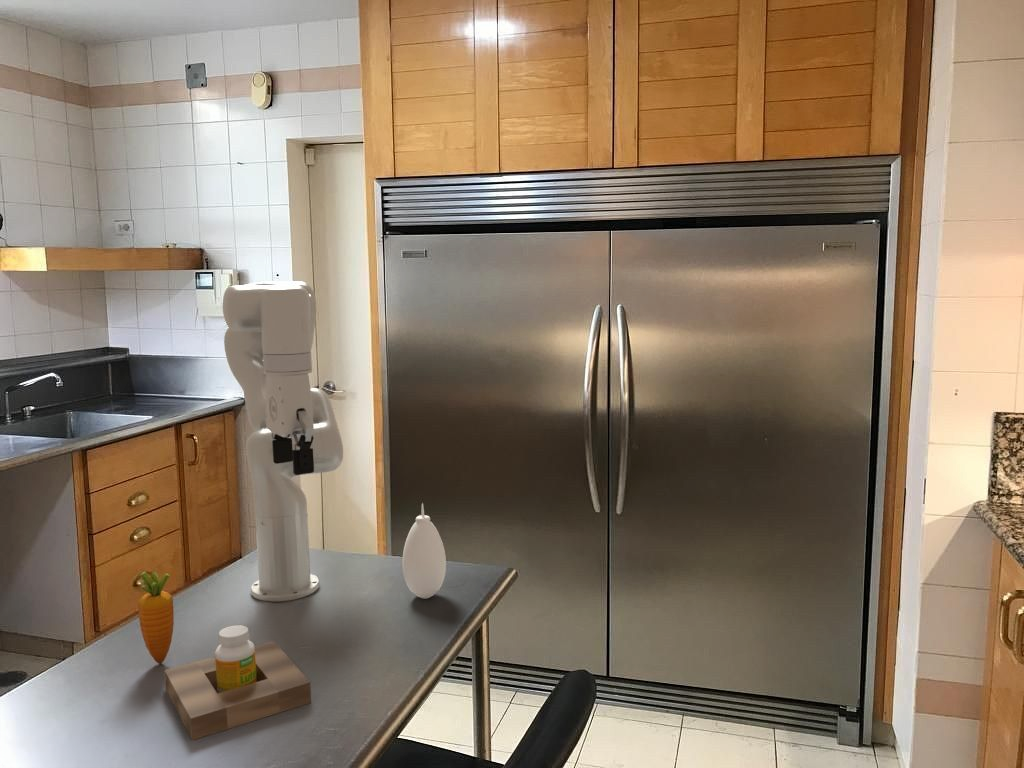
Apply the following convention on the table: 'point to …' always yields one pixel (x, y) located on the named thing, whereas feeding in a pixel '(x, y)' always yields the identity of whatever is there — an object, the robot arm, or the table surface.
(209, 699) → the bore block
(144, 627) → the carrot
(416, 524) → the white air blower bulb
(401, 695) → the table surface
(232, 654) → the supplement bottle
